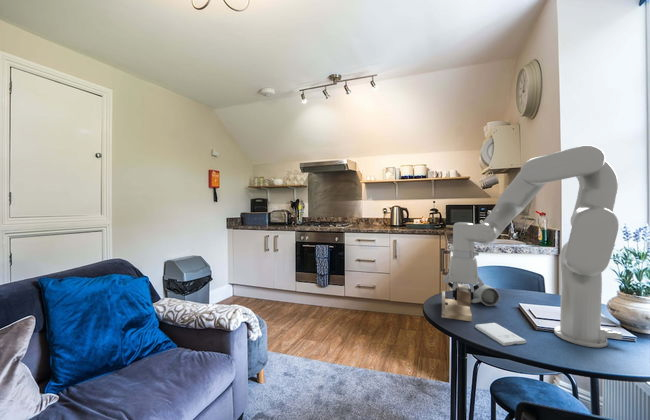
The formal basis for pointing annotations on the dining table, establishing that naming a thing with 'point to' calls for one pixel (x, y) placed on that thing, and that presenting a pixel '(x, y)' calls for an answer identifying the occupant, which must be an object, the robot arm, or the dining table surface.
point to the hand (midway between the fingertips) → (462, 299)
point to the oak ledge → (455, 309)
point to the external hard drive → (500, 334)
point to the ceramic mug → (486, 295)
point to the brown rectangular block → (463, 295)
